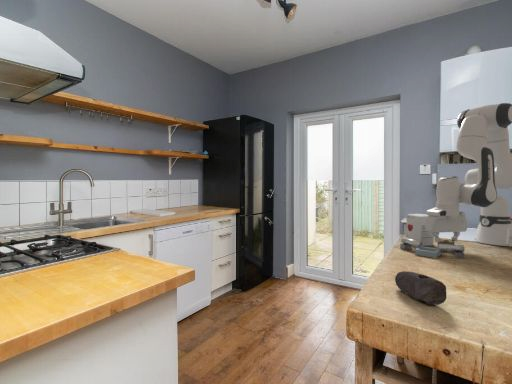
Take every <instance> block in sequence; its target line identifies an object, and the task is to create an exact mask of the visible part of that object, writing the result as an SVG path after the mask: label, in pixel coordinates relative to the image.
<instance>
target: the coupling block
mask: <svg viewBox="0 0 512 384" xmlns="http://www.w3.org/2000/svg"><path fill="white" fill-rule="evenodd" d="M438 244H451V245H455V242H454V241H451V238H450V239H448V238H447V239H446V238H441V242H437V245H438ZM444 252H445V253H452V252H453V251H443V253H444Z"/></svg>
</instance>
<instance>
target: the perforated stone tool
mask: <svg viewBox="0 0 512 384" xmlns="http://www.w3.org/2000/svg"><path fill="white" fill-rule="evenodd" d="M394 281H395V284H396V286H397V287H398V289H399V290H400V291H402V292H403V293H405V294H407V295H408V296H409V297H410V298H412V297H413V299H414V300H415V301H421V302H425V303H426V304H427V305H429V306H432V305H433V306H434V305H441V304H444V303H445V302H446V300H447V294H448V293H447V287H446V285H445V284H444V282H442V281H440V280H438V279H436V278H433V277H431V276H428V275H425V274H422V273H418V272H414V271H406V270H402V271H400V272H397V273H396V275H395V277H394Z"/></svg>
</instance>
